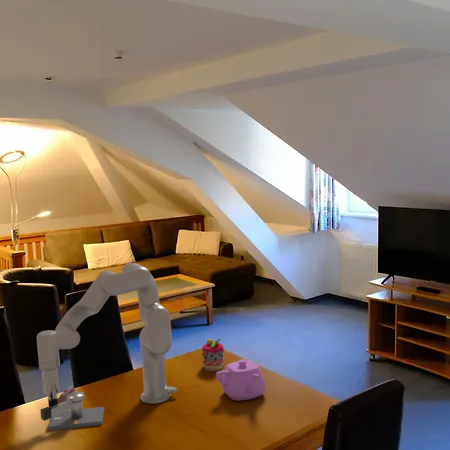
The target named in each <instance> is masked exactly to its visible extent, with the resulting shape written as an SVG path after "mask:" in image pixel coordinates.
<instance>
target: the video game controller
mask: <svg viewBox="0 0 450 450" xmlns="http://www.w3.org/2000/svg"><path fill="white" fill-rule="evenodd" d="M72 392H76V388H75V387H74V386H70V385H69V387H67V388H65V389H64V390H63V392H61V394H60V396H59V397H57V401H58V404H59V403H62V402H65V401H67V396H68V394H70V393H72Z"/></svg>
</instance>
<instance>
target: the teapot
mask: <svg viewBox="0 0 450 450" xmlns="http://www.w3.org/2000/svg"><path fill="white" fill-rule="evenodd" d="M262 372H263V371H262V370H261V368H260V366H259V365H258V364H257V363H255V362H254V361H253V360H250V359H245V358H244V359H238V361H233V362H230V363H228V364H227V365H226V367H225V368H224V370H218V371H217V372H216V373H215V378H216V379H217V381H218V382H219V384H220V385H221V387H222V389H223V391H224V393H225V395H226V396H227V397H229V398H230V399H231V400H233V401H247V400H253V399H256V398H258V397H260V396H263V394H264V392H265V391H266V383H265V382H266V381H265V378H264V375H263V373H262Z"/></svg>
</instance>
